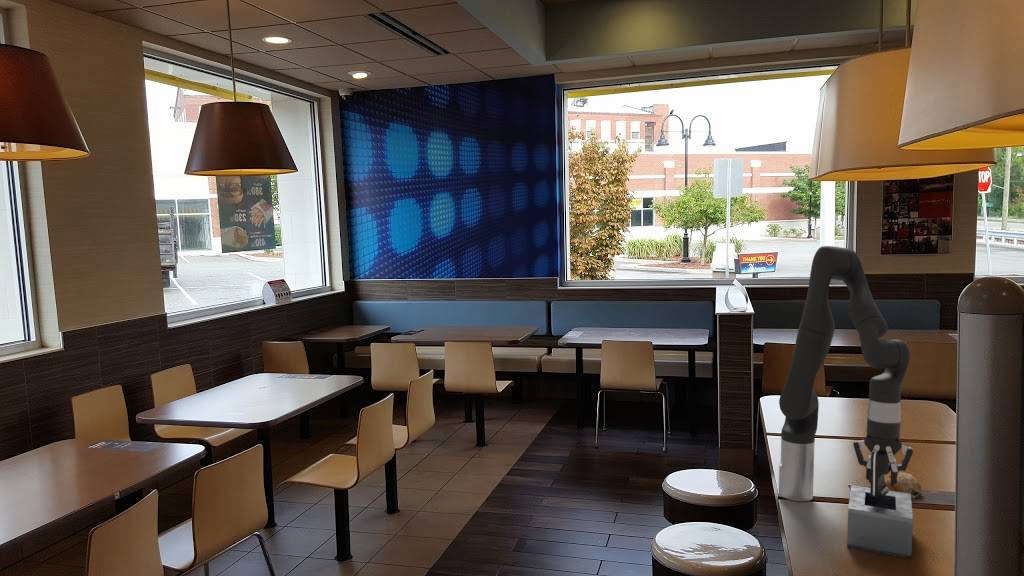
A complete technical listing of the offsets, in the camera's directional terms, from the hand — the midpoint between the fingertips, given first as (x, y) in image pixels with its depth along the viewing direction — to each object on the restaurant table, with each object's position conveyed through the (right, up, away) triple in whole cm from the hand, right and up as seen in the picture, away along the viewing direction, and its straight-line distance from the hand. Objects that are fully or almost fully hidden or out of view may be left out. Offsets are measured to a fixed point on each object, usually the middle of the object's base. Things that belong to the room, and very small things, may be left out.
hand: (881, 483), depth 179 cm
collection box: (0, -15, +1) cm, 15 cm away
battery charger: (0, -3, 0) cm, 3 cm away
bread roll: (+23, -12, +33) cm, 42 cm away
